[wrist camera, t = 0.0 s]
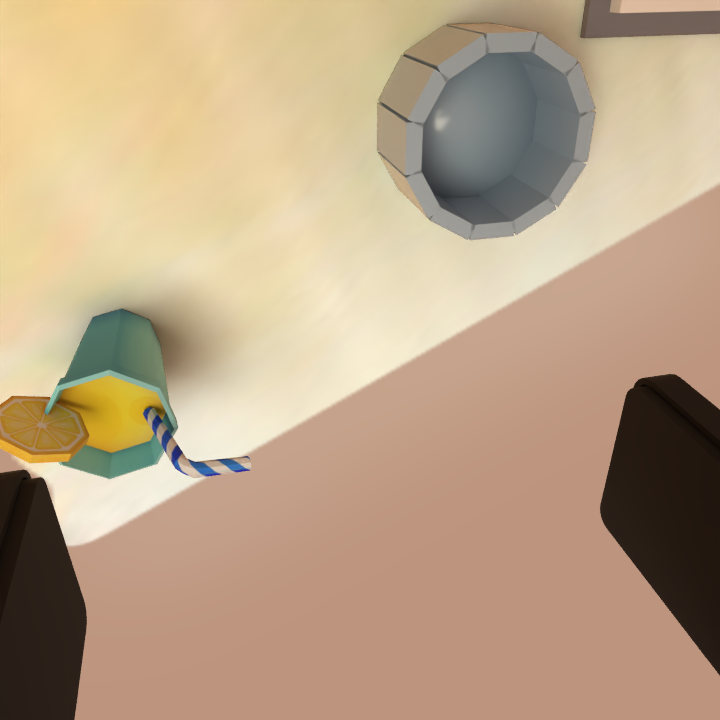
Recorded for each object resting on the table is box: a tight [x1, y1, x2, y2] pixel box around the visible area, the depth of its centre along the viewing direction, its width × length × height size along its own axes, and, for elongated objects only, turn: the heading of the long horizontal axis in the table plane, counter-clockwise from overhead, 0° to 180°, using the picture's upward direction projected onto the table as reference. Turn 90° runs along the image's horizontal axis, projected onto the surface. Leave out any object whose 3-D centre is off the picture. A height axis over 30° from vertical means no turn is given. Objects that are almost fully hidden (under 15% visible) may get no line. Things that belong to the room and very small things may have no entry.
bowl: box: [377, 23, 595, 240], centre depth 43 cm, size 12×12×6 cm
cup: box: [0, 309, 251, 479], centre depth 42 cm, size 14×8×15 cm, turn 80°
